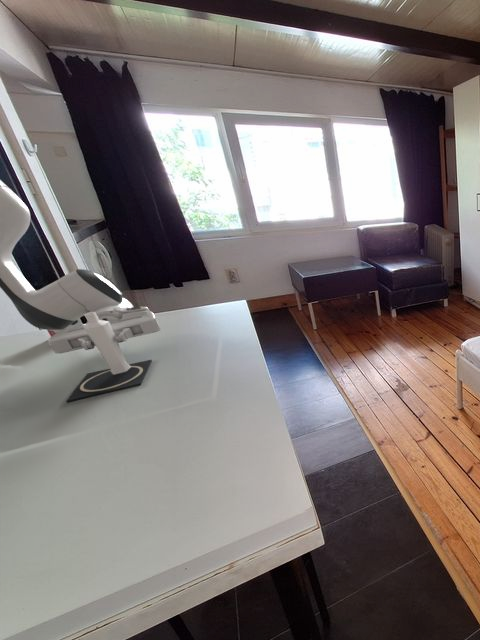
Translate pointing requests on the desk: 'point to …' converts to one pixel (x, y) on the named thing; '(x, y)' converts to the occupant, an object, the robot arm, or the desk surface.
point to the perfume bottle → (106, 343)
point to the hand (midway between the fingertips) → (104, 342)
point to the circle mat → (110, 381)
